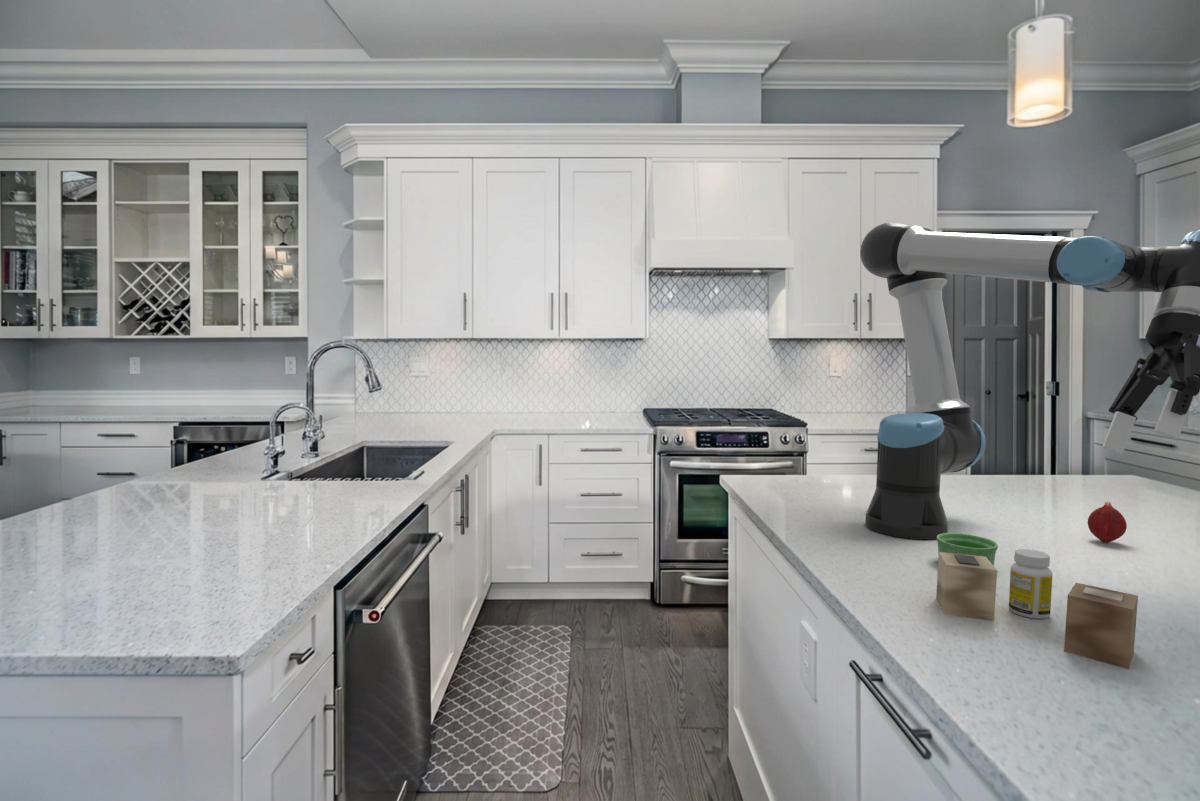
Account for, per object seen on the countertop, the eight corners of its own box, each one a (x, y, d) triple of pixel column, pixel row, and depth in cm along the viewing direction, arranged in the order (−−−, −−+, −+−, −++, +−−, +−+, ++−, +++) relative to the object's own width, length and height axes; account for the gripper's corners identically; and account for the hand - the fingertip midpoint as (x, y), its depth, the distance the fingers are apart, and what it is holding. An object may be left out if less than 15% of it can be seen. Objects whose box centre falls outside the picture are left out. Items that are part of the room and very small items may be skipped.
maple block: (943, 614, 86) (946, 563, 86) (936, 598, 92) (938, 550, 91) (994, 621, 84) (997, 568, 84) (983, 604, 90) (986, 555, 89)
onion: (1132, 548, 117) (1135, 506, 116) (1097, 546, 118) (1100, 504, 118) (1113, 539, 123) (1116, 499, 122) (1080, 537, 124) (1083, 497, 123)
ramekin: (925, 563, 108) (926, 538, 107) (949, 553, 113) (951, 529, 113) (982, 578, 101) (984, 551, 100) (1005, 567, 106) (1007, 542, 106)
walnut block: (1063, 651, 76) (1067, 593, 75) (1072, 636, 80) (1075, 581, 79) (1128, 669, 71) (1133, 607, 71) (1133, 652, 76) (1138, 594, 75)
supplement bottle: (1043, 608, 88) (1047, 550, 88) (1055, 622, 84) (1059, 560, 83) (1004, 603, 90) (1007, 546, 89) (1013, 616, 86) (1017, 556, 85)
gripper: (1275, 299, 86) (1225, 438, 83) (1159, 355, 109) (1117, 465, 107) (1212, 280, 88) (1161, 415, 85) (1111, 339, 112) (1069, 446, 109)
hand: (1137, 443), depth 96 cm, fingers open, 13 cm apart
